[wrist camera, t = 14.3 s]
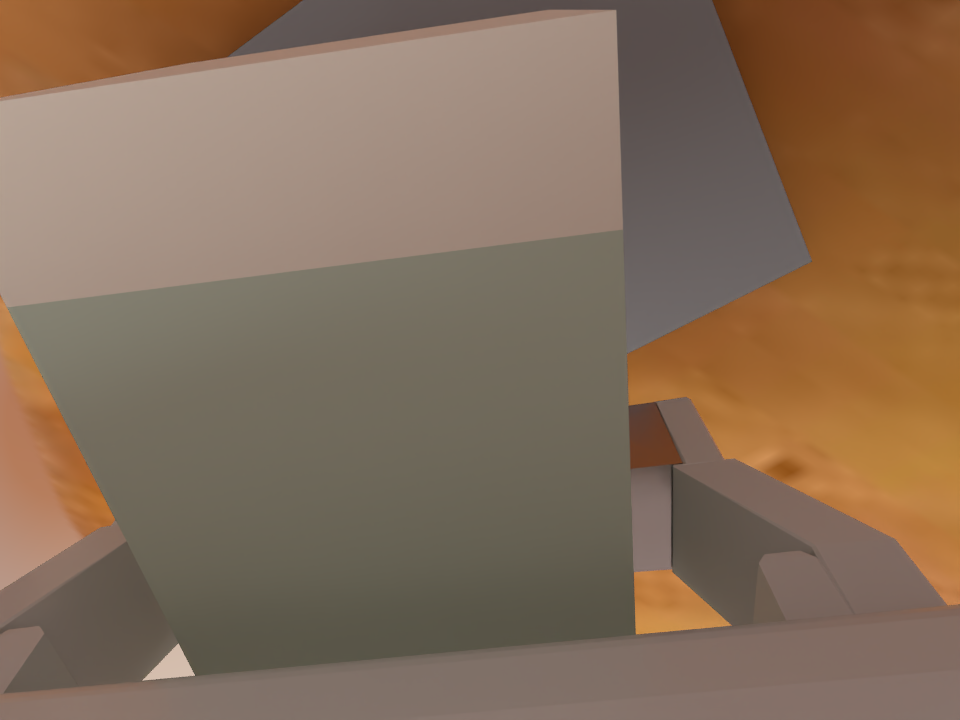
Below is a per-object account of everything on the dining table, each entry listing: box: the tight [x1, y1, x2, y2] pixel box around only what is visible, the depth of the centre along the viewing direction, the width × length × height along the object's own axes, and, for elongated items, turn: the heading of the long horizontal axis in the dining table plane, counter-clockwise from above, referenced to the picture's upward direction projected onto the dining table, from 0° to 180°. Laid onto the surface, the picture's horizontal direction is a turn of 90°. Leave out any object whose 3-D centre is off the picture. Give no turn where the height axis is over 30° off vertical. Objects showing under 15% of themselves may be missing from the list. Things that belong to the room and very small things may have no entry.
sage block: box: [0, 10, 636, 676], centre depth 10 cm, size 5×5×12 cm
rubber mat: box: [228, 0, 812, 354], centre depth 23 cm, size 20×16×1 cm
